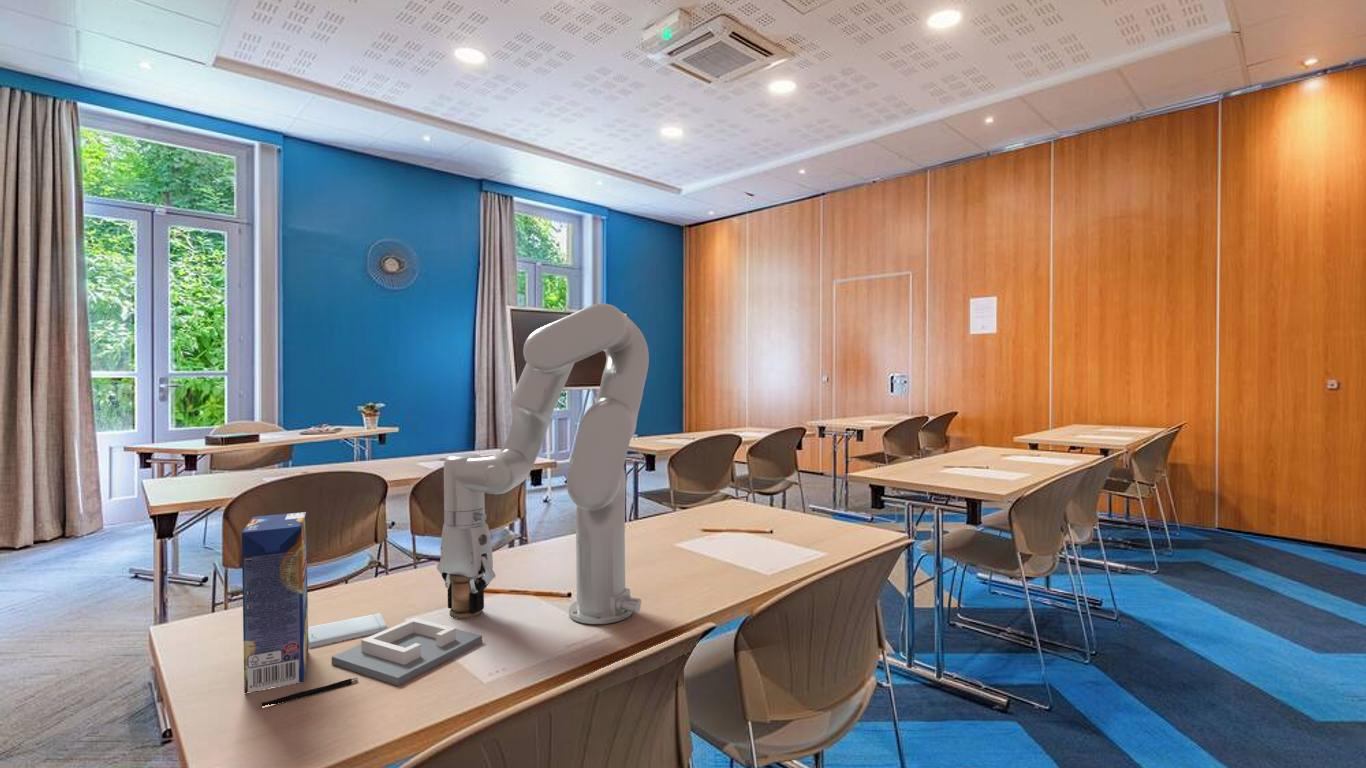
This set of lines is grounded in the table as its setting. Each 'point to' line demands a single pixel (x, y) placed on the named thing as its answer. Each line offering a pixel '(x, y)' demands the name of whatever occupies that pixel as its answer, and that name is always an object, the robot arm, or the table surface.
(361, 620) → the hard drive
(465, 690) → the table surface
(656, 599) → the table surface
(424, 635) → the notched board
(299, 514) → the juice carton
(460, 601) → the bobbin
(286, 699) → the black pencil
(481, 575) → the robot arm
